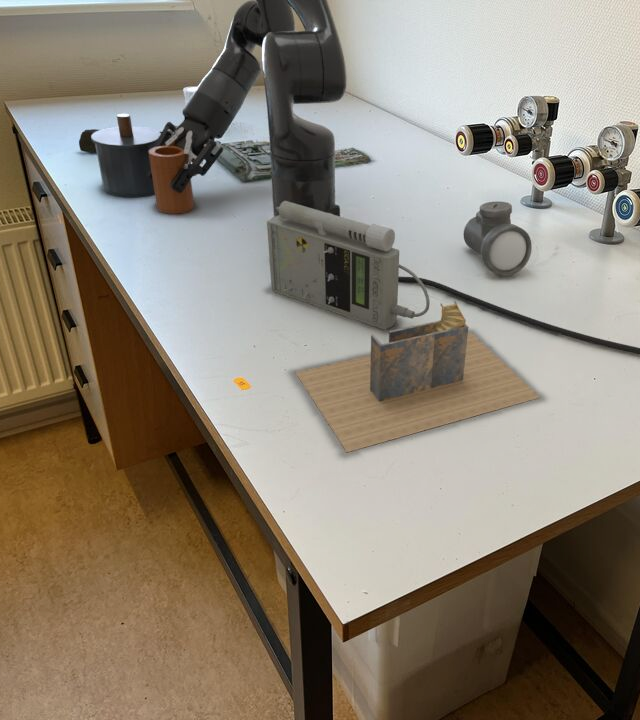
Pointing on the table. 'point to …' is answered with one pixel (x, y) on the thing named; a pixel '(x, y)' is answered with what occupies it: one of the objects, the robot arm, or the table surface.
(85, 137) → the hand tool
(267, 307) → the table surface
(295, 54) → the robot arm
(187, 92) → the white cylinder
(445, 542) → the table surface
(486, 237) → the pipe fitting
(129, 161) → the tin
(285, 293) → the geiger counter
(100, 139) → the tin lid
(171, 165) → the jar
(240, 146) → the model
